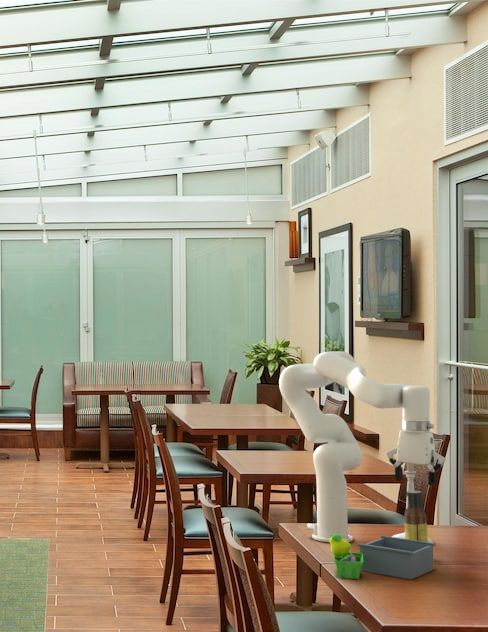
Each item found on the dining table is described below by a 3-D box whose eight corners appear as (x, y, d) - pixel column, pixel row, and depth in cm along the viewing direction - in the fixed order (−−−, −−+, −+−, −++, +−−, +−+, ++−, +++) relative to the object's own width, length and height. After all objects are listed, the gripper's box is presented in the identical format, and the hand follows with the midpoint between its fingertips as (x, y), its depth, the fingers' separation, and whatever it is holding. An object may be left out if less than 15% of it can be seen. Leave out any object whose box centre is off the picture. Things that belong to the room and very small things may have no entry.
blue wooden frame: (358, 570, 275) (357, 543, 275) (382, 560, 286) (382, 535, 286) (411, 580, 264) (411, 552, 264) (435, 569, 275) (434, 543, 275)
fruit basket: (363, 580, 263) (363, 539, 263) (329, 578, 266) (329, 537, 267) (362, 571, 274) (362, 531, 274) (330, 568, 277) (329, 529, 277)
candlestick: (437, 547, 304) (436, 452, 304) (394, 545, 306) (393, 451, 307) (427, 538, 316) (426, 447, 317) (386, 537, 319) (385, 446, 319)
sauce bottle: (427, 555, 292) (426, 490, 293) (429, 560, 286) (428, 493, 287) (404, 554, 295) (403, 489, 295) (405, 558, 289) (404, 492, 289)
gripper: (450, 428, 288) (449, 485, 288) (392, 423, 300) (392, 477, 300) (440, 430, 282) (440, 488, 282) (382, 424, 295) (381, 480, 295)
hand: (415, 482), depth 291 cm, fingers open, 9 cm apart
